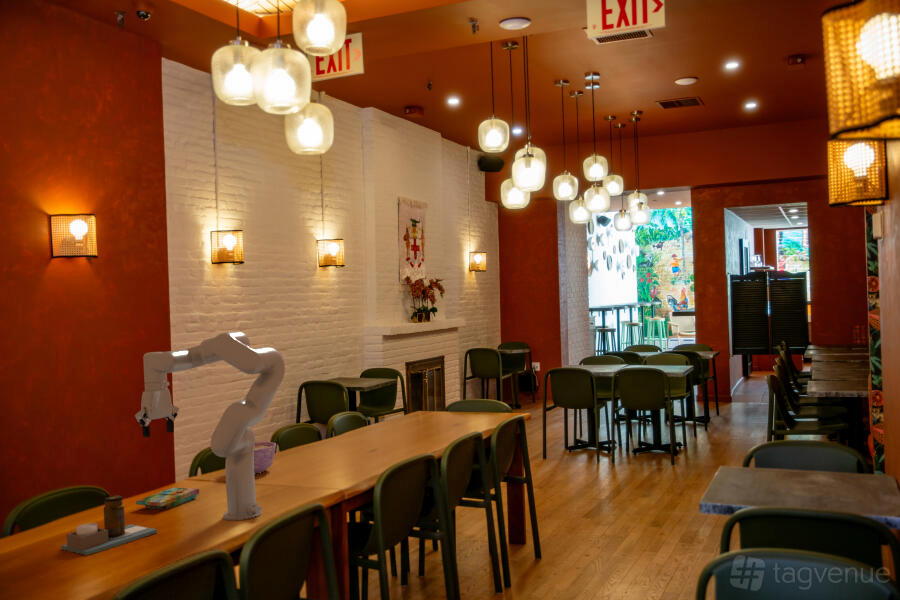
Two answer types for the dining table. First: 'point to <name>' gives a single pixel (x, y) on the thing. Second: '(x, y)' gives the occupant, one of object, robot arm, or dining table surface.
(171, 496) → the puzzle game
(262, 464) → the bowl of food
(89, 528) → the dome
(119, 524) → the condiment
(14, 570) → the dining table surface
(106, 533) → the board
